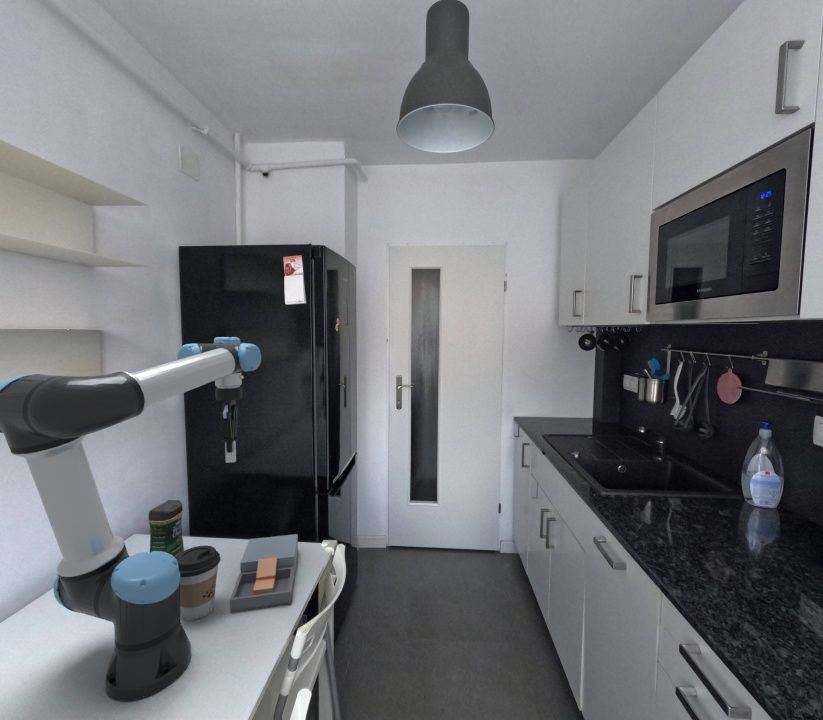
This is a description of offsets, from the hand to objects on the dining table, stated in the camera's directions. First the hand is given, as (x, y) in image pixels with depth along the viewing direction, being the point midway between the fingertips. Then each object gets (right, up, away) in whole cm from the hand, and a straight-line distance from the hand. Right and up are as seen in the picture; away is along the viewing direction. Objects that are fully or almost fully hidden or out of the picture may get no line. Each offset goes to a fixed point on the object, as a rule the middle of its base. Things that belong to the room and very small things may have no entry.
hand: (230, 461), depth 123 cm
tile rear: (+15, -29, -10) cm, 34 cm away
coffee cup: (+1, -34, -21) cm, 40 cm away
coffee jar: (-22, -33, +3) cm, 39 cm away
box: (+16, -33, -14) cm, 39 cm away
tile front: (+16, -30, -15) cm, 37 cm away
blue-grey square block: (+13, -32, -1) cm, 35 cm away
